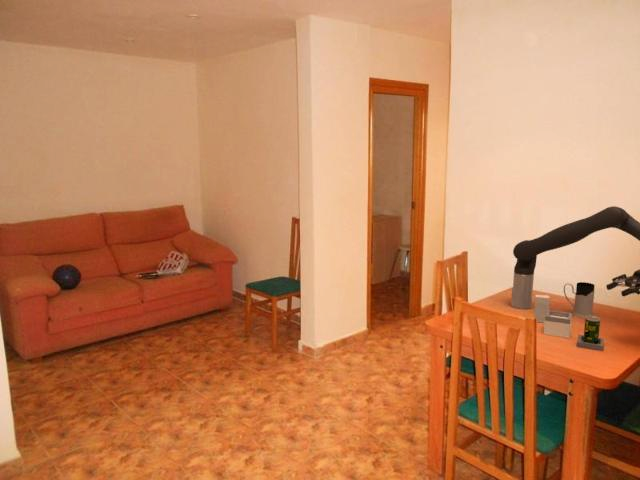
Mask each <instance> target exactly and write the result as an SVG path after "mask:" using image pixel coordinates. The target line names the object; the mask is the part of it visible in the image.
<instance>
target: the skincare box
mask: <svg viewBox="0 0 640 480" xmlns="http://www.w3.org/2000/svg"><path fill="white" fill-rule="evenodd" d="M534 296H535V297H534V309H533V310H534V311H533V318H534V317H535V318H537V322H536V323H542V324H544V323H545V317H546V314H547V311H548V310H550V303H551V302H550V301H551V297H550V296H549V295H546V294H545V295H544V294H535V295H534Z"/></svg>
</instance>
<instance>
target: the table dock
mask: <svg viewBox="0 0 640 480" xmlns="http://www.w3.org/2000/svg"><path fill="white" fill-rule="evenodd" d="M583 338H584V334H578V337H577V342H576V347H577V348H581V349H582V348H583V349H589V350H594V351H601V352H604V346H605V338H603V337H599V338H598V344H593V343H586V342H583Z"/></svg>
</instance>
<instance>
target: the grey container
mask: <svg viewBox="0 0 640 480" xmlns="http://www.w3.org/2000/svg"><path fill="white" fill-rule="evenodd" d="M566 285H569V286H571V289H572V293H573V294H574V304H573V303H572V301H571V300H570V299H569V298H568V296H567V293H566ZM563 293H564V297H565V299H566V300H567V301H568V303H570V304H571V306H572V307H573V312H572V316H575V317H578V318H582V319H585V318H586V315H594V313H593V309H594V301H595V300H594V299H595V284H594V283H591V282H585V281H583V282H577V283H576V289H575V291H574V286H573V285H572V283H565V284H564V286H563Z"/></svg>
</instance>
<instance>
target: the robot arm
mask: <svg viewBox="0 0 640 480" xmlns="http://www.w3.org/2000/svg"><path fill="white" fill-rule="evenodd" d="M610 228H613V229H617V230H621V231H623V232H625V233H627V234H628V235H630V236H632V237H633V238H635V239H636V240H637V241H638V242H640V221H638V220H637V219H635V218H634V217H633V216H631V214H630V213H628V211H626V210H625V209H624V208H622V207H619V206H612V205H611V206H608V207H606V208H604V209H602V210H599V211H598V212H596V213H594V214H592V215H591V216H588V217H586V218H582V219H578V220H576V221H575V220H574V221H571V222H569V223H566V224H563V225H560V226H558V227H557V228H554V229H552V230H550V231H548V232H546V233H545V234H542V235H540V236H539V237H537V238H534V239H530V240H529V239H526V240H522V241H520V242H518V243H517V244H516V245H515V246H514V247H513V250H512V251H513V252H512V254H513V257H514V258H516V261H515V265H514V268H513V282H512V283H513V284H512V285H513V286H512V288H511V301H510V302H511V303H510V306H511V307H513V308H515V309H516V308H517V309H522V310H528V309H531V308H532V304H533V303H532V301H533V289H534V276H535V270H536V266H537V257H538V255H541V254H544V253H546V252H548V251H549V252H550V251H553V250H556V249H560V248H564V247H567V246H569V245H572V244H575V243H577V242H579V241H582V240H583V239H585V238H587V237H588V236H590V235H592V234H594V233H597V232H599V231H603V230H606V229H610ZM611 281H612V282H610V283H608V284H606V286H605V287H606V290H608V291H611V290H613V289H614V288H617V287H622V288H625V287H627V288H626V289H623V290H621V291H620V292H621V297H626V296H629V295H632V294H633V295H634V294H636V295H640V269H637V270H635V271H634V273H633V274H632V275H630V276H627V274H626V273H624V274H621V275H618V276H615V277H613V278H612V279H611Z"/></svg>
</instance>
